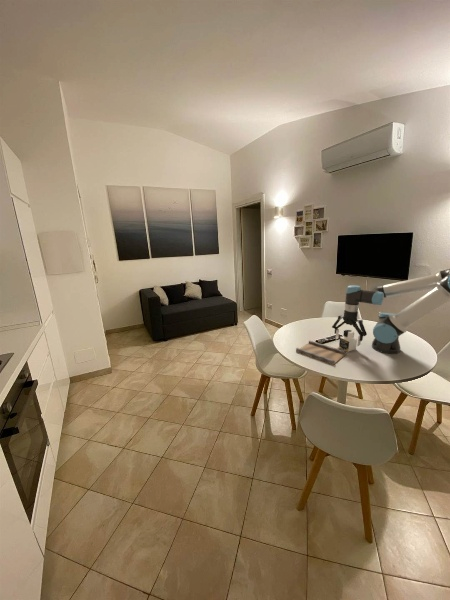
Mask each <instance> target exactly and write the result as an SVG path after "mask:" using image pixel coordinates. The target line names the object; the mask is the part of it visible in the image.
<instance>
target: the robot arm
mask: <svg viewBox="0 0 450 600" xmlns="http://www.w3.org/2000/svg"><path fill="white" fill-rule="evenodd" d="M428 290H430V291H428ZM423 291H428V292H427V293H426V294H425V293H424V294H423V295H422V296H421V297H419V298H417V299H416V300H415V301H413V302H412V303H411V304H409V305H407V306H406V307H404V308H403V309H401V310H400V311H399V312H397V313H392V312H380V313H379V315H378V320H377V323H376V324H375V325H374V326H373V328H372V335H373V337H374V338H373V341H372V343H371V348H372V349H374V350H375V351H377V352H380V353H383V354H390V355H391V354H392V355H394V354H395V355H397V354H398V353H400V352H401V345H400V340H399V338H400V336H401V335H404V334H405V333H406V332H407V328H409V327H411V326H412V325H414V324H415V323H417V322H418V321H420V320H422V319H423V318H424V317H426V316H428V315H430V314H431V313H433V312H434V311H436V310H437V309H439V308H441V307H442V306H444V305H445V304H447V303H449V302H450V268H447V269H445V270H444V269H443V270H439V271H438V272H437V273H435V274H430V275H425V276H420V277H417V278H416V277H415V278H411V279H407V280H402V281H398V282H393V283H388V284H384V285H376V286H372V287H371V288H370V289H369V290H367V289H362V287H361V286H360V285H356V284H350V285H348V286H347V287H346V292H345V300H344V311H343V315H341V314H340V315H338V316H337V319H336V321H335V322H334V324H333V325H332V326H331V328H332V329H334V335H335V336H334V337H335V338H334V339H335V340H338V339H339V334H340V327H342V326H343V325H349V326H352V327H354V330H355V331H356V332H357V334H358V336H357V344H356V347H359V346H360V345H361V342H362V341H363V338H364V337H366V336H367V335H368V334H367V331H366V328H365V326H364V322H363V319H358V313H359V306H360V305H359V304H360V303H361V304H363V303H364V304H367V305H368V304H369V305H374V306H376V305H377V306H381V305H382V304H384V299H385V298H390V297H395V296H399V295H400V296H401V295H406V294H411V293H412V294H414V293H416V292H417V293H418V292H423ZM342 319H343V321H342V322H341V320H342ZM339 322H341V323H340V324H339ZM357 323H358V324H357Z"/></svg>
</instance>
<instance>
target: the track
mask: <svg viewBox="0 0 450 600" xmlns="http://www.w3.org/2000/svg"><path fill="white" fill-rule="evenodd" d="M295 351H296V352H297V353H298V354H299V353H300V354H303V355H305V356H308V357H311V358H314V359H316V360H319V361H322V362H324V363H327V364H329V365H333V366H334V365H335V364H337V362H339V361H340V360H341V359H343V358H344V357H345V356H346V355H347V351H346V350H343V349H339V348H335V347H331V346H328V345H325V344H323V343H320V342H316V341H313V340H308V342H307V344H305V345H302V347H300V348H299V347H296V348H295Z"/></svg>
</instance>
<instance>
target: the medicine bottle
mask: <svg viewBox="0 0 450 600" xmlns="http://www.w3.org/2000/svg"><path fill="white" fill-rule="evenodd" d="M342 335H343V336H340V337H339V344H338V348H340V349H341V350H343V351H346V352H351V351H355V350H356V349H357V343H358V338H355V331H353V330H351V329H345V330H343V333H342Z"/></svg>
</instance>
